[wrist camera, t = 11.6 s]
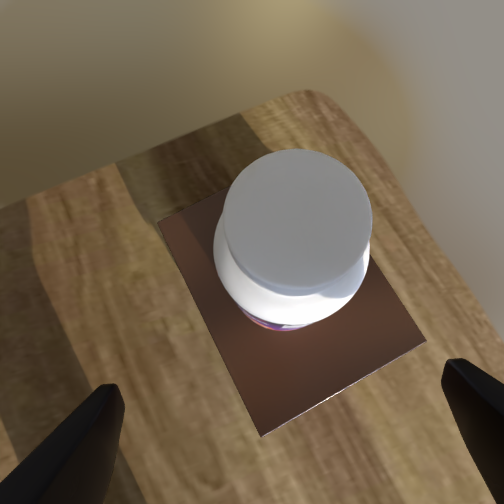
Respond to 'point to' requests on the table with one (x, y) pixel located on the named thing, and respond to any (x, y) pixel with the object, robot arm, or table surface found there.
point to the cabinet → (288, 342)
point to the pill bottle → (293, 238)
